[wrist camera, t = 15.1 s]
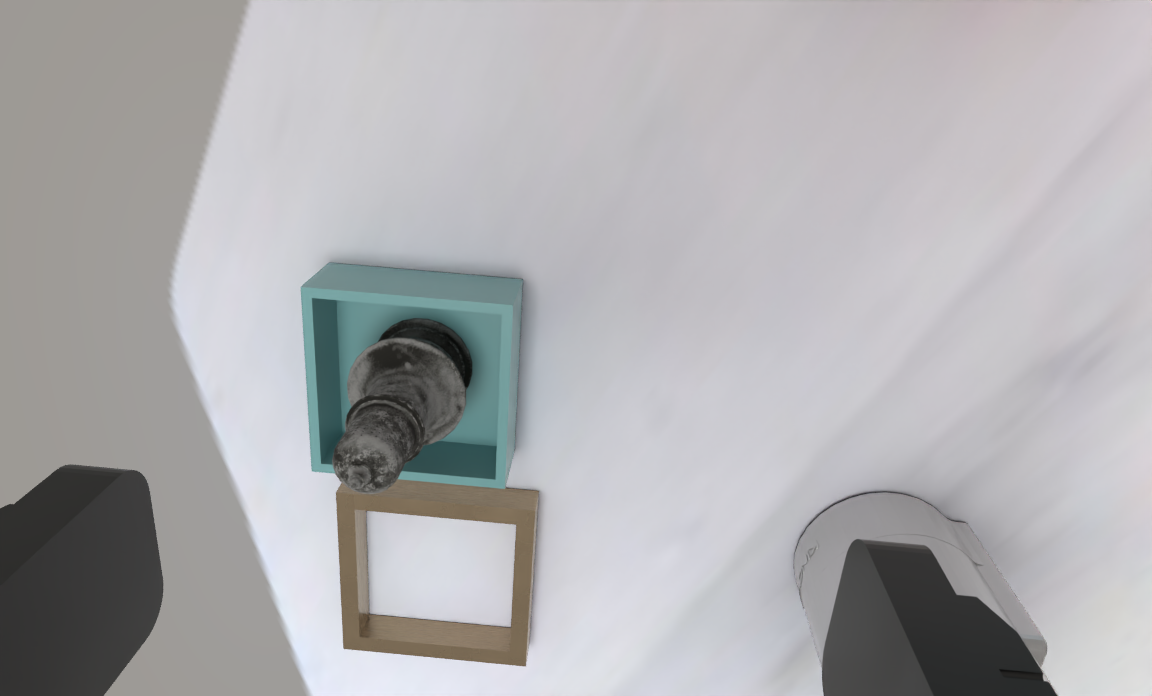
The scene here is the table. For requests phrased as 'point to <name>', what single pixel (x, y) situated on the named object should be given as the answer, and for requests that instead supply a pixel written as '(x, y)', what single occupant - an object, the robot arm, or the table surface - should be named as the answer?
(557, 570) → the table surface
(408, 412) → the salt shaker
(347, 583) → the socket collar
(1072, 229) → the table surface
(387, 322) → the bin
